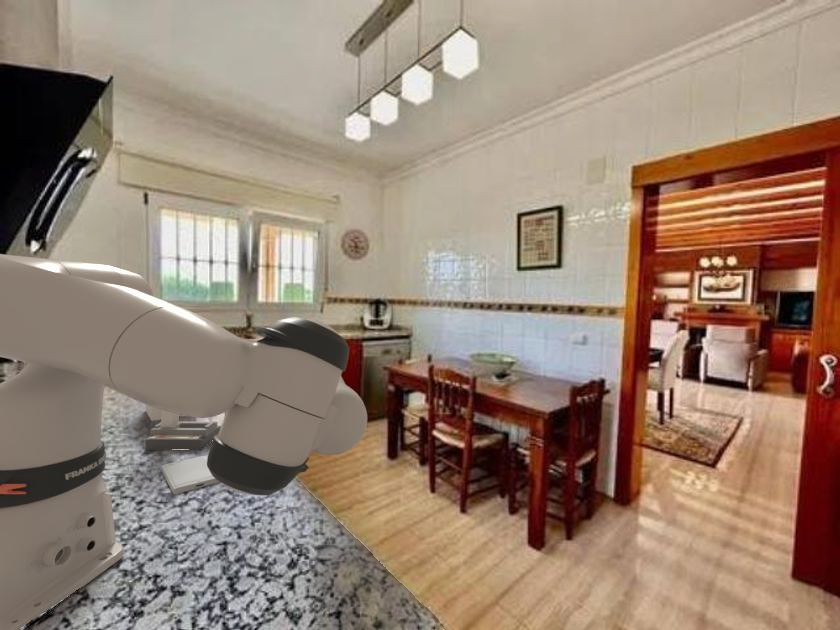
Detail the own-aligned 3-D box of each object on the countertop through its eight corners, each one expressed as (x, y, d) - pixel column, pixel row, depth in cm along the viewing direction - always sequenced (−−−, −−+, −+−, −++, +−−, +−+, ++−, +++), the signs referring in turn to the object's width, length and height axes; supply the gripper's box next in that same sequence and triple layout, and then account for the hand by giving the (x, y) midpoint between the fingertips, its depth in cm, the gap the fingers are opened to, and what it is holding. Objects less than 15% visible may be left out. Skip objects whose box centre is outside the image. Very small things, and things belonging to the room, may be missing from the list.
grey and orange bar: (173, 433, 89) (175, 348, 89) (158, 433, 89) (159, 347, 88) (181, 428, 93) (182, 346, 92) (166, 428, 92) (168, 346, 92)
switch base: (200, 450, 87) (201, 431, 87) (145, 450, 86) (145, 430, 86) (220, 435, 97) (220, 417, 96) (170, 434, 96) (170, 417, 96)
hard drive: (161, 464, 76) (173, 488, 67) (206, 455, 82) (224, 475, 73) (160, 473, 76) (173, 497, 67) (206, 462, 82) (224, 483, 73)
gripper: (266, 425, 83) (200, 425, 82) (290, 401, 104) (237, 401, 103) (266, 396, 83) (200, 396, 82) (290, 378, 104) (237, 378, 102)
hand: (221, 398), depth 93 cm, fingers closed
